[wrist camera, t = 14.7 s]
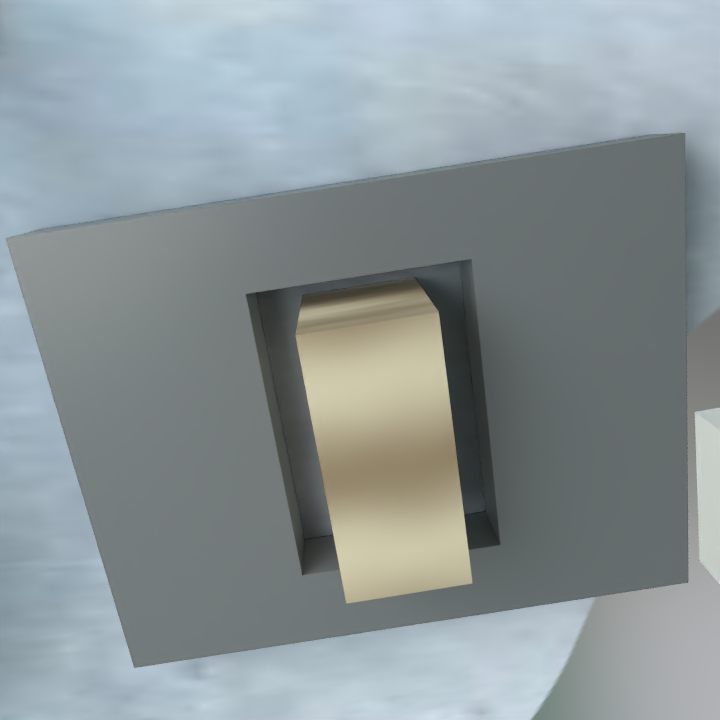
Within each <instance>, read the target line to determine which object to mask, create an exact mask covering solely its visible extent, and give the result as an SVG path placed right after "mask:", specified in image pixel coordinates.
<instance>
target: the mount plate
mask: <svg viewBox="0 0 720 720" xmlns="http://www.w3.org/2000/svg"><path fill="white" fill-rule="evenodd" d="M6 241H7V244H8V248H9V251H10V254H11V258H12V261H13V264H14V268H15V271H16V274H17V278H18V281H19V284H20V288H21V291H22V294H23V298H24V301H25V304H26V308H27V311H28V314H29V318H30V321H31V324H32V328H33V331H34V334H35V338H36V341H37V344H38V348H39V351H40V354H41V358H42V361H43V364H44V368H45V371H46V374H47V378H48V381H49V385H50V388H51V391H52V395H53V398H54V401H55V405H56V408H57V411H58V415H59V418H60V421H61V425H62V428H63V431H64V435H65V438H66V441H67V445H68V448H69V451H70V455H71V458H72V461H73V465H74V468H75V471H76V475H77V478H78V481H79V485H80V488H81V491H82V495H83V498H84V501H85V505H86V508H87V511H88V515H89V518H90V521H91V525H92V528H93V531H94V535H95V538H96V541H97V545H98V548H99V552H100V555H101V558H102V562H103V565H104V568H105V572H106V575H107V578H108V582H109V585H110V588H111V592H112V595H113V598H114V602H115V605H116V608H117V612H118V615H119V618H120V622H121V625H122V628H123V632H124V635H125V638H126V642H127V645H128V648H129V652H130V655H131V658H132V662H133V665H134V668H136V667H142V666H149V665H155V664H162V663H168V662H175V661H181V660H188V659H194V658H201V657H207V656H214V655H220V654H227V653H233V652H240V651H246V650H253V649H259V648H266V647H272V646H279V645H285V644H292V643H298V642H305V641H311V640H318V639H324V638H331V637H337V636H344V635H350V634H357V633H363V632H370V631H376V630H383V629H389V628H396V627H402V626H409V625H415V624H422V623H428V622H435V621H441V620H448V619H454V618H461V617H467V616H473V615H480V614H486V613H493V612H499V611H506V610H512V609H519V608H525V607H532V606H538V605H545V604H551V603H558V602H564V601H571V600H577V599H584V598H590V597H597V596H603V595H610V594H616V593H622V592H629V591H636V590H642V589H649V588H654V587H661V586H668V585H674V584H681V583H688V487H687V486H688V484H687V483H688V480H687V479H688V477H687V476H688V474H687V347H686V346H687V340H686V207H685V133H675V134H654V135H645V136H638V137H632V138H625V139H619V140H612V141H606V142H600V143H593V144H587V145H580V146H574V147H567V148H561V149H554V150H548V151H542V152H535V153H529V154H522V155H516V156H509V157H503V158H497V159H490V160H484V161H477V162H471V163H464V164H458V165H451V166H445V167H439V168H432V169H426V170H419V171H413V172H406V173H400V174H394V175H387V176H381V177H374V178H368V179H361V180H355V181H349V182H342V183H336V184H329V185H323V186H316V187H310V188H303V189H297V190H291V191H284V192H278V193H271V194H265V195H258V196H252V197H246V198H239V199H233V200H226V201H220V202H213V203H207V204H200V205H194V206H188V207H181V208H175V209H168V210H162V211H155V212H149V213H143V214H136V215H130V216H123V217H117V218H110V219H104V220H97V221H91V222H85V223H78V224H72V225H65V226H59V227H52V228H46V229H40V230H35V231H31V232H28V233H24V234H20V235H17V236H13V237H9V238H6ZM455 261H459V262H460V271H461V281H462V290H463V300H464V309H465V319H466V328H467V338H468V347H469V357H470V366H471V375H472V385H473V394H474V404H475V413H476V423H477V432H478V442H479V451H480V461H481V470H482V480H483V489H484V498H485V508H486V512H479V513H473V514H466V515H464V518H465V526H466V535H467V543H468V551H469V559H470V567H471V575H472V584H466V585H459V586H453V587H447V588H441V589H434V590H428V591H422V592H416V593H410V594H403V595H397V596H391V597H385V598H378V599H372V600H366V601H360V602H354V603H347V604H346V599H345V594H344V589H343V583H342V578H341V573H340V568H339V562H338V557H337V552H336V546H335V541H334V536H333V535H330V536H324V537H317V538H311V539H304V534H303V529H302V524H301V519H300V514H299V509H298V504H297V499H296V493H295V488H294V483H293V478H292V473H291V468H290V463H289V458H288V453H287V448H286V443H285V437H284V432H283V427H282V422H281V417H280V412H279V407H278V402H277V397H276V392H275V387H274V381H273V376H272V371H271V366H270V361H269V356H268V351H267V346H266V341H265V336H264V331H263V326H262V320H261V315H260V310H259V305H258V300H257V295H256V292H262V291H268V290H275V289H281V288H288V287H294V286H301V285H307V284H313V283H320V282H326V281H333V280H339V279H346V278H352V277H359V276H365V275H371V274H378V273H384V272H391V271H397V270H404V269H410V268H417V267H423V266H429V265H436V264H442V263H449V262H455Z"/></svg>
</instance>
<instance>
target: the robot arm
mask: <svg viewBox="0 0 720 720" xmlns="http://www.w3.org/2000/svg"><path fill="white" fill-rule="evenodd" d="M695 435H696V465H697V498H698V527H699V561H700V562H701V563H702V564H703V565H704V567H705V568H706V569H707V570H708V571H709V572H710V573H711V575H712V576H713V577H714V578H715V579H716V580H717V582H718V583H719V584H720V407H719V408H714V409H708V410H703V411H697V412H695Z"/></svg>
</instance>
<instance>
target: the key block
mask: <svg viewBox="0 0 720 720" xmlns="http://www.w3.org/2000/svg"><path fill="white" fill-rule="evenodd" d="M295 336H296V342H297V347H298V352H299V357H300V363H301V368H302V373H303V378H304V384H305V389H306V394H307V399H308V405H309V410H310V415H311V420H312V426H313V431H314V436H315V441H316V447H317V452H318V457H319V462H320V468H321V473H322V478H323V483H324V489H325V494H326V499H327V504H328V510H329V515H330V520H331V525H332V531H333V536H334V541H335V546H336V552H337V557H338V562H339V568H340V573H341V578H342V583H343V589H344V594H345V599H346V604H347V603H354V602H360V601H366V600H372V599H378V598H385V597H391V596H397V595H403V594H410V593H416V592H422V591H428V590H434V589H441V588H447V587H453V586H459V585H466V584H472V575H471V567H470V559H469V551H468V543H467V535H466V526H465V518H464V510H463V502H462V494H461V486H460V478H459V470H458V462H457V454H456V446H455V438H454V430H453V422H452V414H451V406H450V398H449V390H448V382H447V374H446V366H445V358H444V350H443V342H442V334H441V326H440V318H439V312H438V310H437V309H436V307H435V306H434V305H433V303H432V302H431V300H430V299H429V297H428V296H427V294H426V293H425V291H424V290H423V288H422V287H421V285H420V284H419V282H418V281H417V280H416V278H415V277H412V278H406V279H400V280H393V281H387V282H381V283H375V284H369V285H363V286H356V287H350V288H344V289H338V290H332V291H326V292H319V293H313V294H307V295H303V296H302V301H301V307H300V312H299V318H298V324H297V329H296V335H295Z"/></svg>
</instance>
